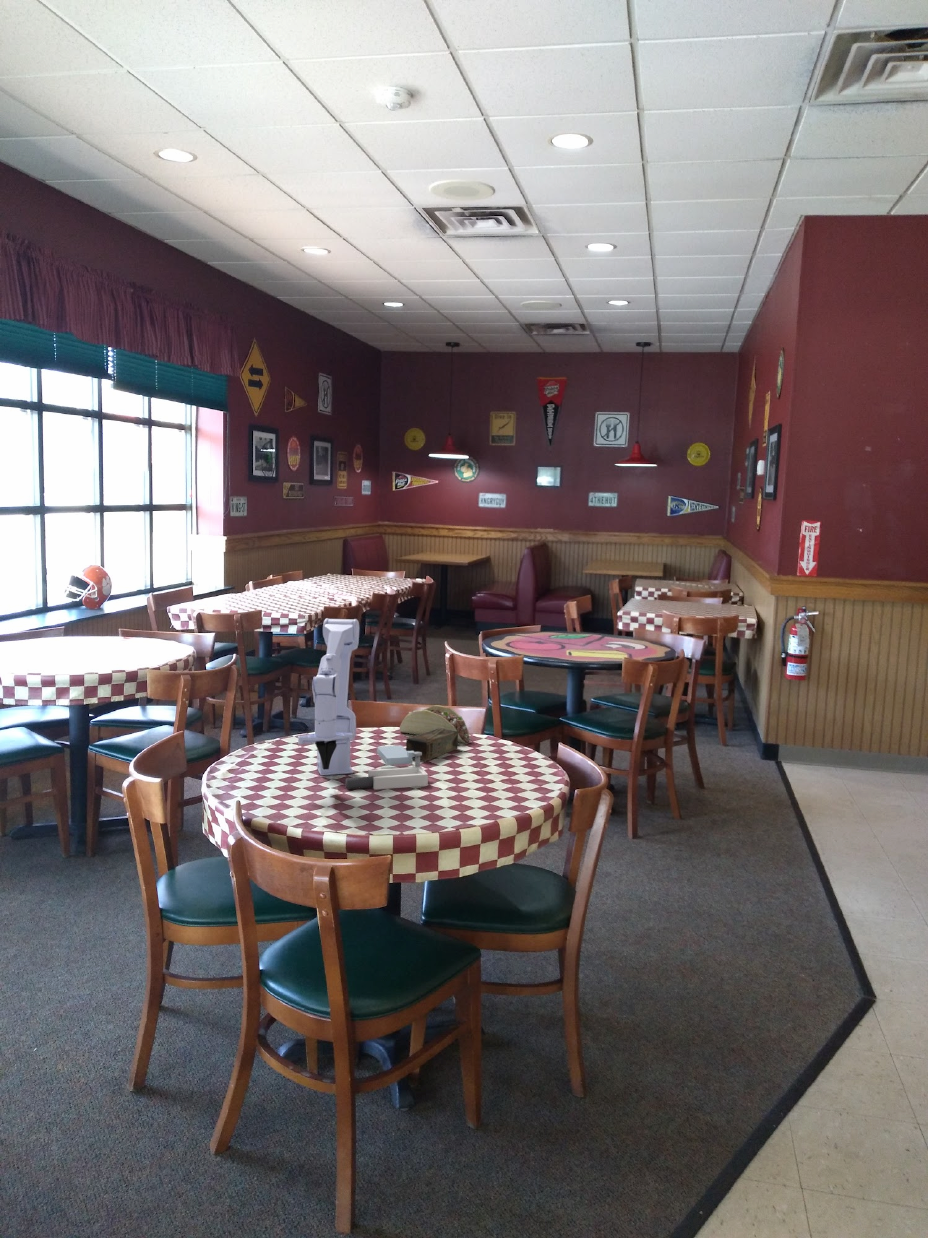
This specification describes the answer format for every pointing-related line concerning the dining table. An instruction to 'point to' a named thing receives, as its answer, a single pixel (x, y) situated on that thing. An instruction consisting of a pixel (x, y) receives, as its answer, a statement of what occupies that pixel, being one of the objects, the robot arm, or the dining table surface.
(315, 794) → the dining table surface
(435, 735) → the brown box-shaped piece
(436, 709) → the taco
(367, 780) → the dark grey cylinder
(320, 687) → the robot arm
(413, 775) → the duct
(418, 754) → the cover
